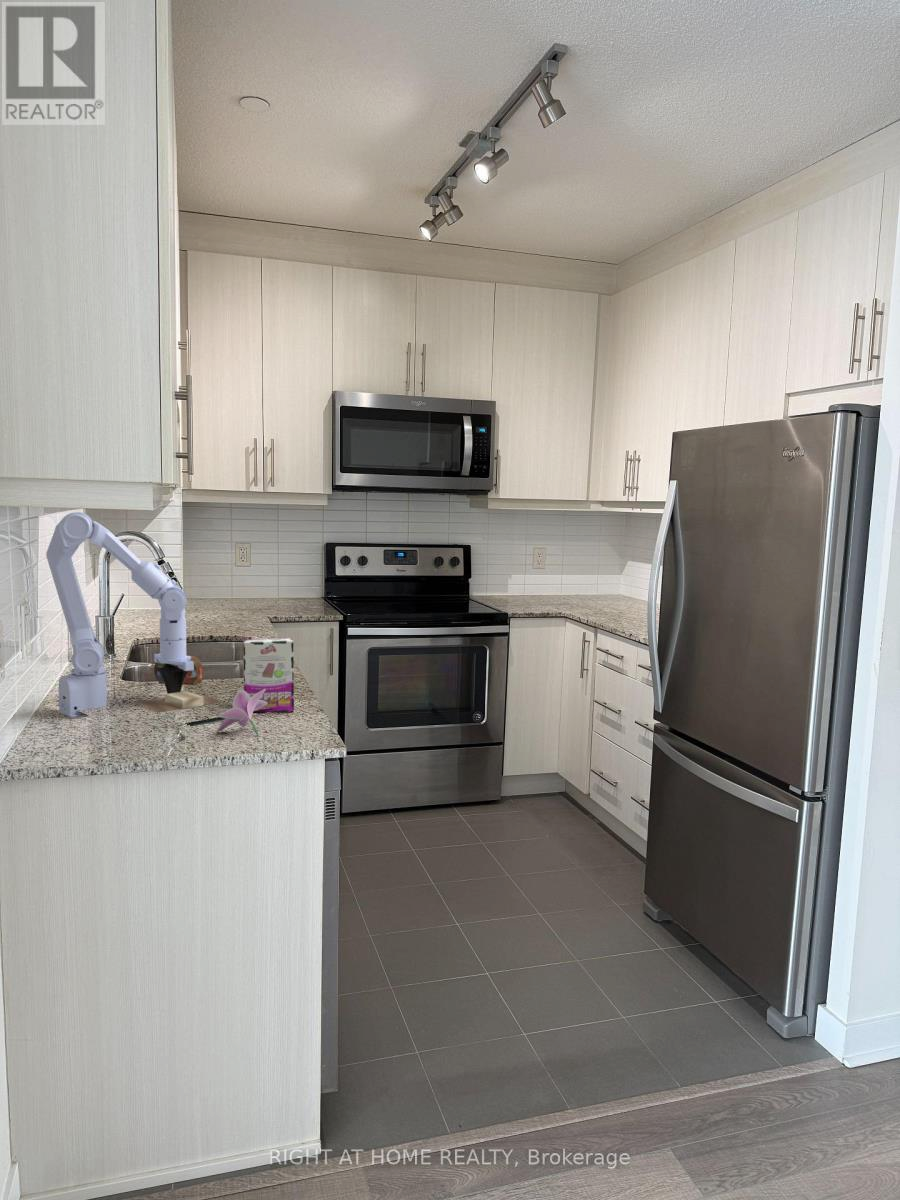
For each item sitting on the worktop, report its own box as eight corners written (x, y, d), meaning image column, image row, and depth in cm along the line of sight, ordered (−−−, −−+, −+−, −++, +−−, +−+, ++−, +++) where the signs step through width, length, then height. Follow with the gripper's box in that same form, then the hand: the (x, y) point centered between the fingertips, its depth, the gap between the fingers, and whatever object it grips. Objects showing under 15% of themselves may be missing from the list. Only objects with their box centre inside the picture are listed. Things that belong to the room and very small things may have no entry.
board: (158, 719, 180) (158, 712, 180) (132, 709, 188) (132, 702, 188) (224, 707, 192) (223, 701, 192) (197, 699, 200) (197, 693, 200)
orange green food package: (153, 684, 216) (152, 652, 215) (162, 682, 219) (162, 650, 218) (196, 691, 209) (196, 658, 208) (205, 689, 212) (205, 656, 211)
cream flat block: (182, 709, 183) (182, 700, 183) (165, 702, 189) (165, 694, 189) (203, 705, 187) (203, 696, 187) (185, 699, 193) (185, 691, 192)
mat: (193, 727, 174) (193, 725, 174) (167, 717, 181) (167, 716, 181) (243, 718, 183) (243, 716, 183) (216, 709, 190) (216, 707, 190)
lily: (277, 730, 177) (258, 689, 179) (287, 721, 167) (268, 677, 168) (223, 754, 172) (205, 711, 173) (231, 746, 162) (211, 701, 163)
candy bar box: (292, 707, 194) (292, 637, 192) (294, 712, 189) (294, 640, 187) (242, 709, 191) (242, 638, 189) (243, 714, 186) (243, 641, 184)
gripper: (205, 640, 188) (206, 700, 189) (173, 633, 198) (174, 689, 199) (176, 643, 183) (177, 704, 184) (145, 636, 193) (146, 694, 194)
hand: (173, 697), depth 191 cm, fingers closed
